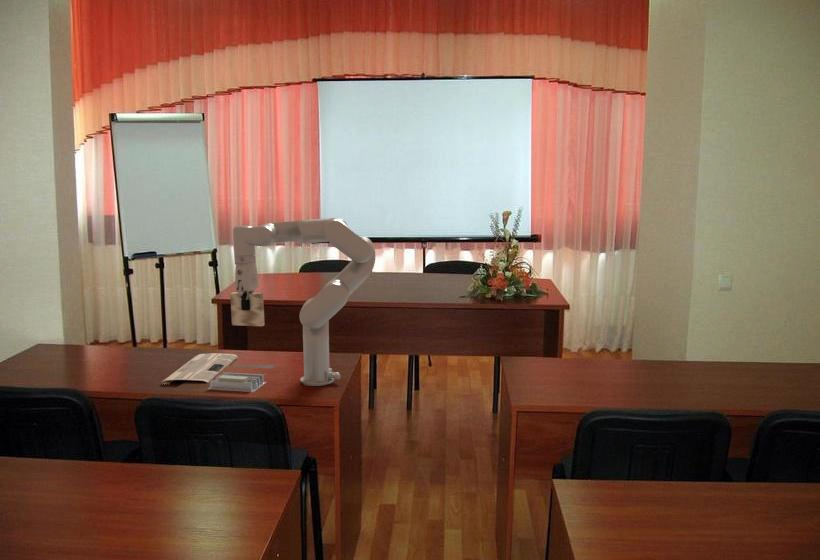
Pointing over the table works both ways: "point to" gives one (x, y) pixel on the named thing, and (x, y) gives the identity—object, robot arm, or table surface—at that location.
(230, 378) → the offcut block
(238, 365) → the play button award
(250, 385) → the slot rack
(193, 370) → the newspaper
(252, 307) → the birch sheet
